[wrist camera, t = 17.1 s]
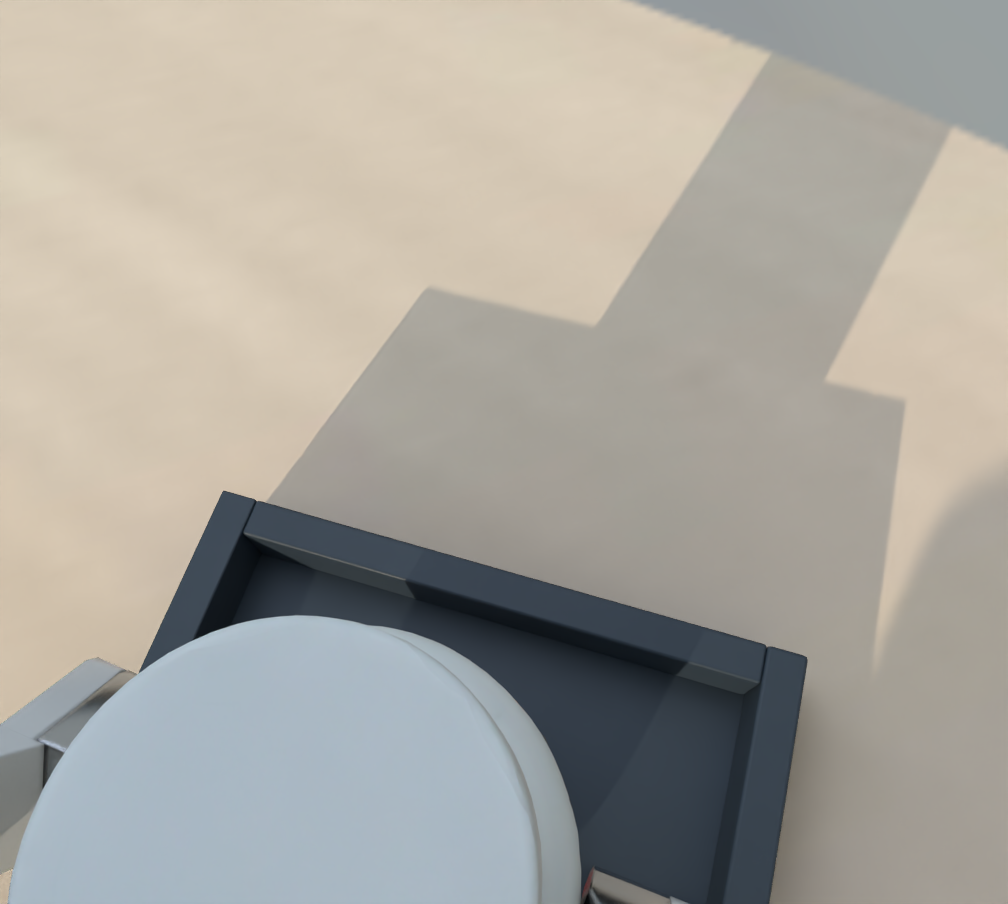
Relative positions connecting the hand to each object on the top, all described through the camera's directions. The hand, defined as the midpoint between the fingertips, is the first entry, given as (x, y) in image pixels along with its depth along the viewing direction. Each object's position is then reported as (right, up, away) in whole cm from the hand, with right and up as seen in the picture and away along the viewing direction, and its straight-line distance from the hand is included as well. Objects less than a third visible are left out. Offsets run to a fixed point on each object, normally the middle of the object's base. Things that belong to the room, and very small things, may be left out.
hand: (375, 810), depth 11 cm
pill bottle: (0, -3, +5) cm, 6 cm away
